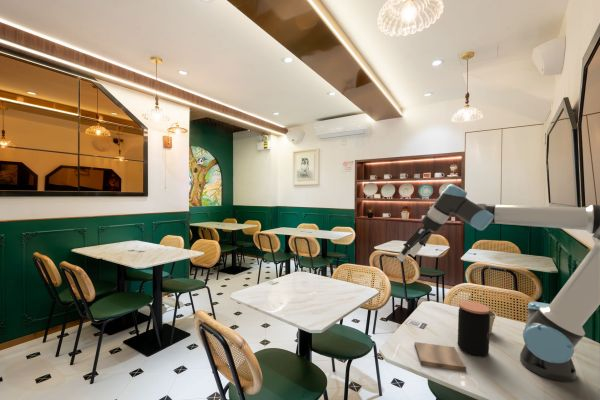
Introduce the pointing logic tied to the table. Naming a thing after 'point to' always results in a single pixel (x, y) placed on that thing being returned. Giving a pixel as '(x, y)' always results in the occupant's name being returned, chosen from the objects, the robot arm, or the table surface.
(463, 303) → the coffee jar
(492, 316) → the flower pot
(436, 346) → the walnut board
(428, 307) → the table surface
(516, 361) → the table surface
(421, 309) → the table surface
